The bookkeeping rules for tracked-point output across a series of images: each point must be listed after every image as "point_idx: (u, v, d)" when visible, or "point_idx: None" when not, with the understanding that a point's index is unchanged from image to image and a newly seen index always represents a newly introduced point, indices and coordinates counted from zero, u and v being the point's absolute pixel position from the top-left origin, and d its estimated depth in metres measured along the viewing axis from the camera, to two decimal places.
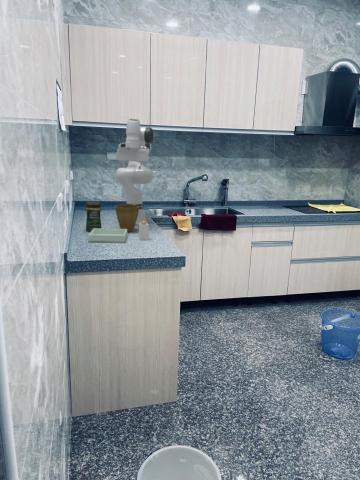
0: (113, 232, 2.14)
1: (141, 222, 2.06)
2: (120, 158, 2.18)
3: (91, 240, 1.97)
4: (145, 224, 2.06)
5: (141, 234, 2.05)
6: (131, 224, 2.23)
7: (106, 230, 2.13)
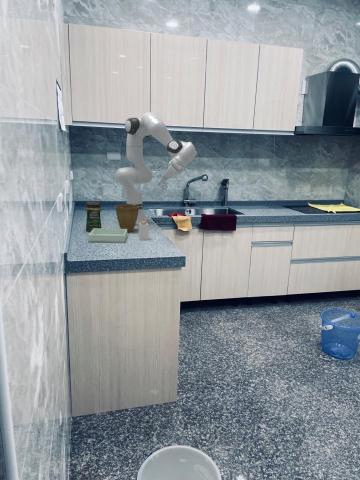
0: (113, 232, 2.14)
1: (141, 222, 2.06)
2: None
3: (91, 240, 1.97)
4: (145, 224, 2.06)
5: (141, 234, 2.05)
6: (131, 224, 2.23)
7: (106, 230, 2.13)
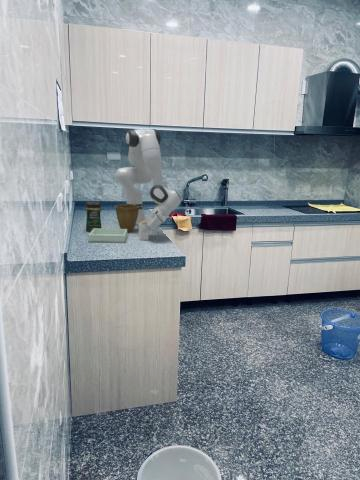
0: (113, 232, 2.14)
1: (141, 222, 2.05)
2: None
3: (91, 240, 1.97)
4: None
5: (141, 234, 2.05)
6: (131, 224, 2.23)
7: (106, 230, 2.13)
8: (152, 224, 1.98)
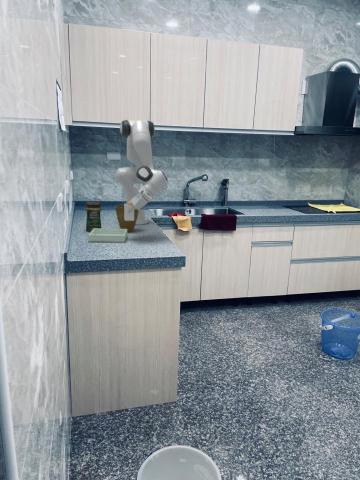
0: (113, 232, 2.14)
1: (128, 202, 2.01)
2: None
3: (91, 240, 1.97)
4: None
5: (127, 214, 2.01)
6: (131, 224, 2.23)
7: (106, 230, 2.13)
8: (137, 204, 1.94)
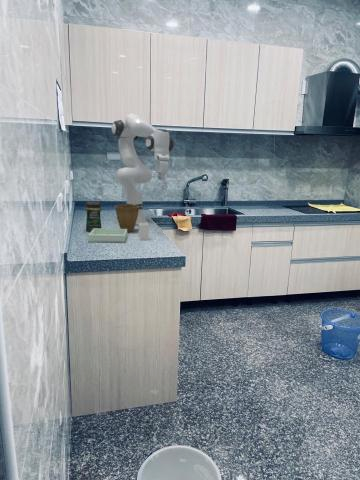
0: (113, 232, 2.14)
1: (107, 234, 2.01)
2: None
3: (91, 240, 1.97)
4: None
5: (141, 234, 2.05)
6: (131, 224, 2.23)
7: (106, 230, 2.13)
8: (162, 169, 2.05)
